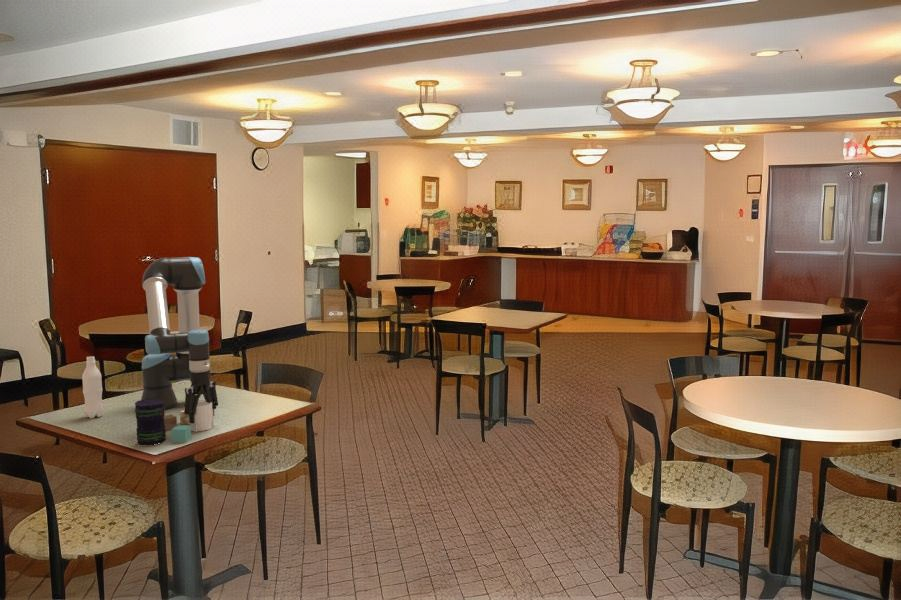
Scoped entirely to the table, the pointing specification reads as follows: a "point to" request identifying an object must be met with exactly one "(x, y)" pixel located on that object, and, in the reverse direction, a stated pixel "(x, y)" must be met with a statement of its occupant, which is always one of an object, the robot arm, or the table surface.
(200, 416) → the white cup
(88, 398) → the water bottle
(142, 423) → the storage jar
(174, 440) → the teal block
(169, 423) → the walnut block
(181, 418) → the maple block
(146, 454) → the table surface
